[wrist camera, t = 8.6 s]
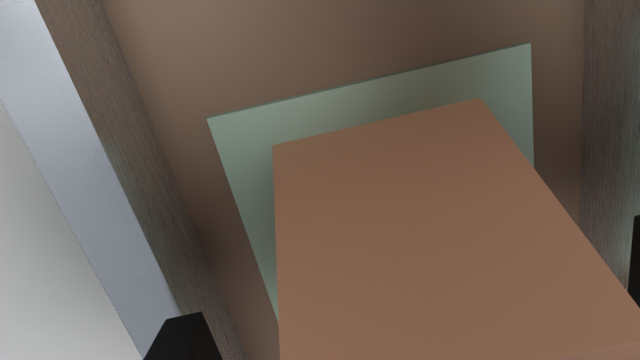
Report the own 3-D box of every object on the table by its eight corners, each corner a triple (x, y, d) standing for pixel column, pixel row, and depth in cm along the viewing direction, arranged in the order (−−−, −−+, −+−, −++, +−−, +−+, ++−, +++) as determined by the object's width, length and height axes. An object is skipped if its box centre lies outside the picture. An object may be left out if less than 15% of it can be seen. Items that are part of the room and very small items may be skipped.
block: (480, 97, 11) (660, 335, 6) (492, 258, 13) (635, 535, 8) (272, 145, 11) (282, 416, 6) (316, 297, 14) (351, 591, 8)
